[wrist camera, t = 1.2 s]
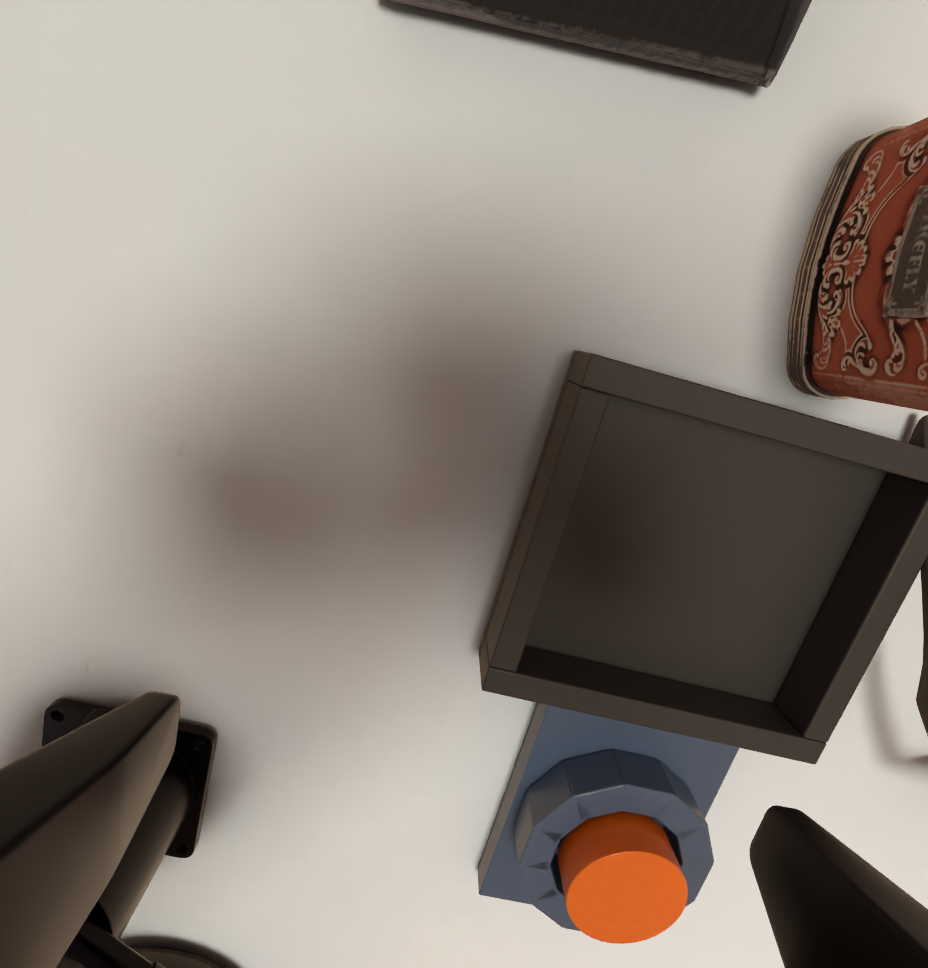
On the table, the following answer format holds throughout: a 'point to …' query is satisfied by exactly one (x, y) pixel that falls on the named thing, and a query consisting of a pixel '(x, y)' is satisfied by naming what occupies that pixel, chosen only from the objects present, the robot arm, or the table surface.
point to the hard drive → (656, 29)
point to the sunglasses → (923, 589)
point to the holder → (704, 561)
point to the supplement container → (174, 958)
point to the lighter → (867, 277)
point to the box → (598, 800)
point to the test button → (621, 878)
